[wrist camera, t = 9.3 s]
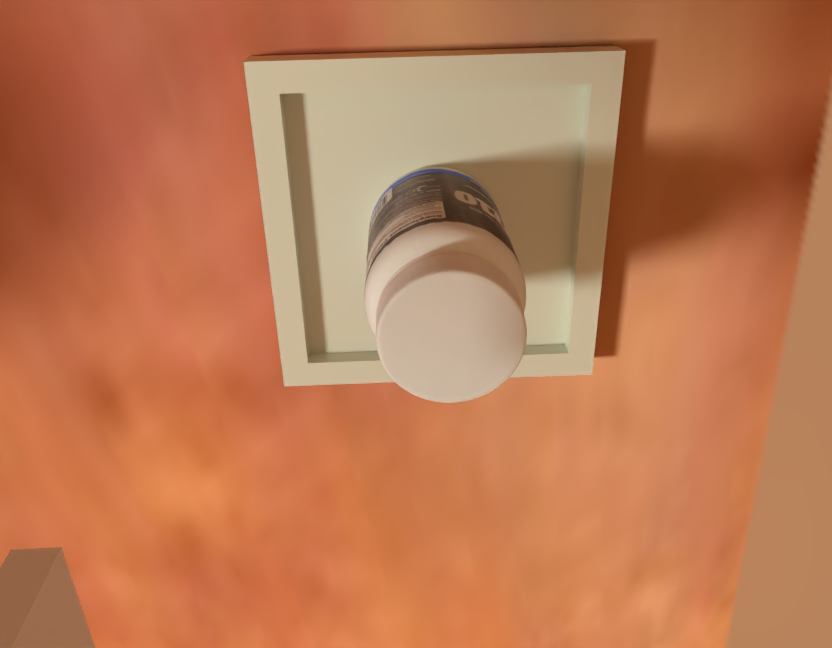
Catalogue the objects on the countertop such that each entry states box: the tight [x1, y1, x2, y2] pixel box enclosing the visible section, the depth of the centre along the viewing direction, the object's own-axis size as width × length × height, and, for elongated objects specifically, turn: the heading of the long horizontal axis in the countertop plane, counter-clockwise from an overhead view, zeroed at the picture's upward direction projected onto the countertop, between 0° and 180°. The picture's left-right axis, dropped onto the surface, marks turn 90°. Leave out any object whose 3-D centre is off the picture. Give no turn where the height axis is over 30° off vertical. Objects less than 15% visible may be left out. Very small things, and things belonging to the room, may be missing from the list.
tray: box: [244, 45, 626, 386], centre depth 27 cm, size 12×12×1 cm
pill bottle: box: [364, 167, 527, 403], centre depth 23 cm, size 5×5×8 cm
